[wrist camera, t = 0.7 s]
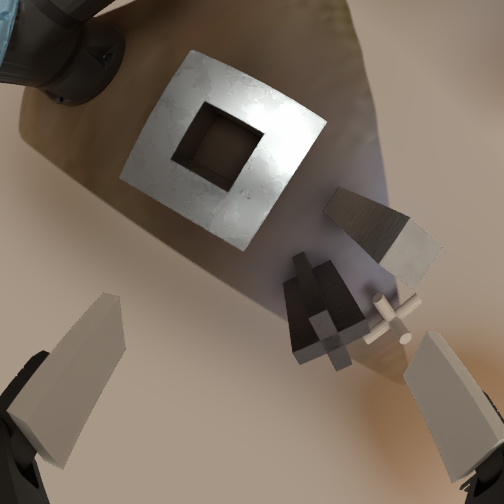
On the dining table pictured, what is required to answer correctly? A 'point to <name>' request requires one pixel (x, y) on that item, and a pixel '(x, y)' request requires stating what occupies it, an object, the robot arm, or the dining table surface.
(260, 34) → the dining table surface
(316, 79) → the dining table surface
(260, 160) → the bore block
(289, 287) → the cross bit
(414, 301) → the pipe connector
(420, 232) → the square bit
